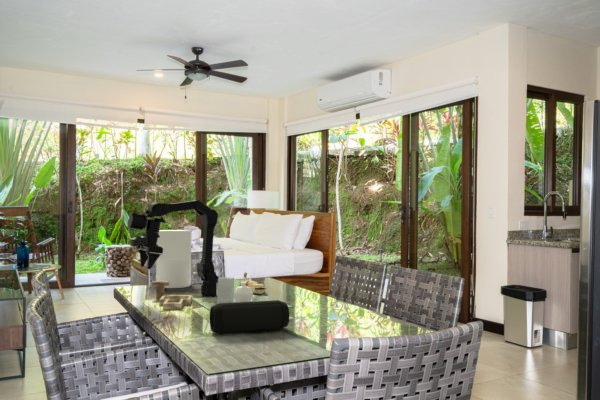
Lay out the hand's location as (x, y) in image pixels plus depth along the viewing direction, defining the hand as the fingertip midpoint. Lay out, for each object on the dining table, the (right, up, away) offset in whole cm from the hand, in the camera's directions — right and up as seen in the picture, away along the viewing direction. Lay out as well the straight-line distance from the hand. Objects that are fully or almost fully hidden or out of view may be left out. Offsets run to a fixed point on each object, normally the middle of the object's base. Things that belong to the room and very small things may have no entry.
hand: (145, 267), depth 210 cm
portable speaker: (+49, -15, -45) cm, 69 cm away
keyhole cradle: (+14, -15, -6) cm, 21 cm away
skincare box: (+35, -15, -8) cm, 39 cm away
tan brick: (+4, -15, +7) cm, 17 cm away
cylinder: (+1, -15, +43) cm, 45 cm away
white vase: (+44, -15, -18) cm, 50 cm away
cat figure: (+43, -16, +32) cm, 56 cm away
